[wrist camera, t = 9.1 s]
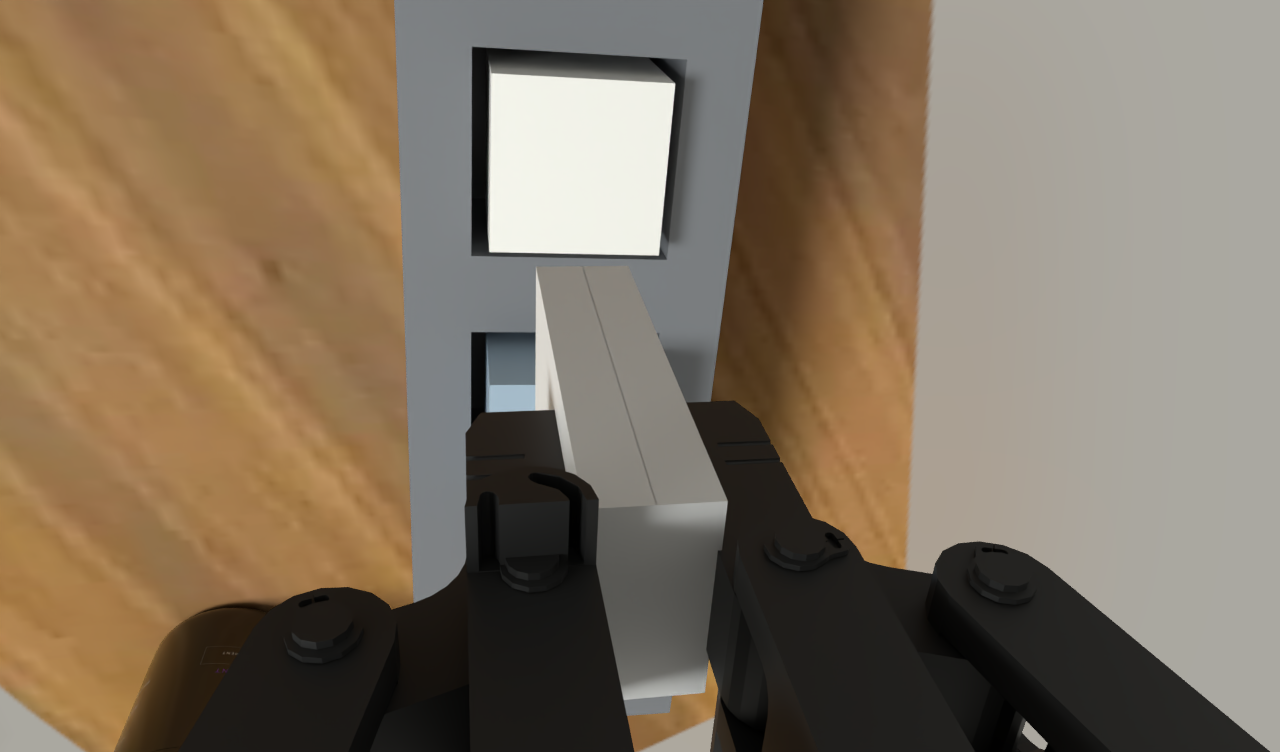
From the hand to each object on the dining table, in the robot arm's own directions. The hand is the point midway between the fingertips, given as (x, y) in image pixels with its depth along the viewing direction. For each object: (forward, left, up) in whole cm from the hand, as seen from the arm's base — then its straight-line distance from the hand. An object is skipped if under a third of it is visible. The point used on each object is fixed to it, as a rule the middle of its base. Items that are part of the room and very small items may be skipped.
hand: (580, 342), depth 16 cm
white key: (0, +1, -17) cm, 17 cm away
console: (+9, +1, -20) cm, 21 cm away
